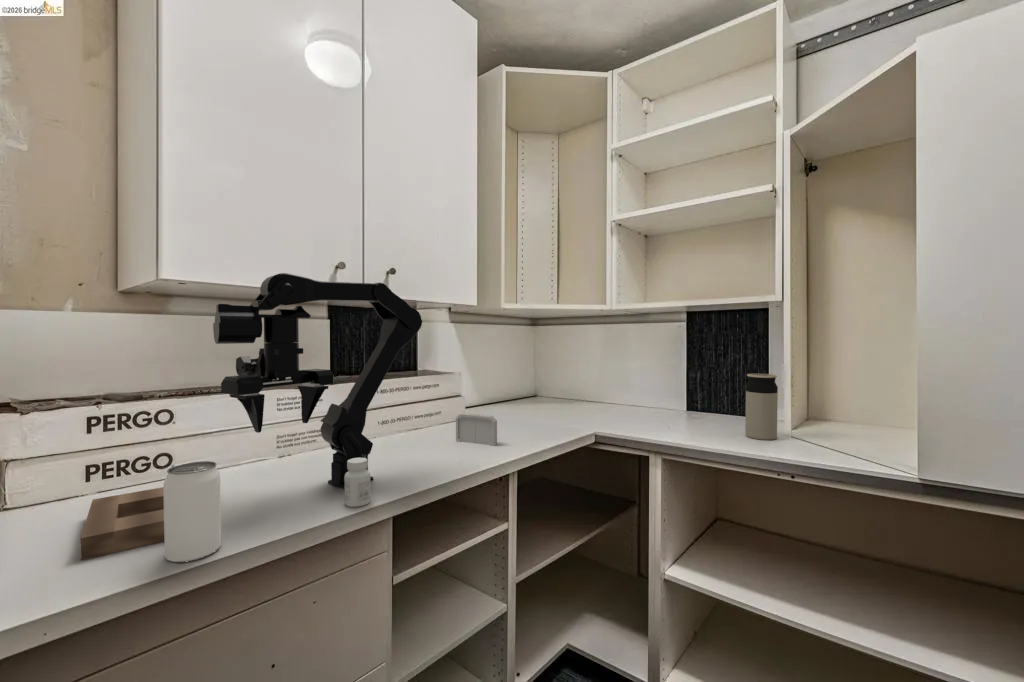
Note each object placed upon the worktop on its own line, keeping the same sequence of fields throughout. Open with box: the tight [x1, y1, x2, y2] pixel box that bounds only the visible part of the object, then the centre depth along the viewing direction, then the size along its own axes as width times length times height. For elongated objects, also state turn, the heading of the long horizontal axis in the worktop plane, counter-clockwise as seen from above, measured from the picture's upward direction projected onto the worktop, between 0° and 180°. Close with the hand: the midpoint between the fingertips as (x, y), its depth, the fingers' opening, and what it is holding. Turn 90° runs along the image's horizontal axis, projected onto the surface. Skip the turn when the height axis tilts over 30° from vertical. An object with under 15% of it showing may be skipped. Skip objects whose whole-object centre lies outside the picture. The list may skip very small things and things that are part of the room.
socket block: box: [80, 486, 165, 561], centre depth 72 cm, size 12×18×3 cm, turn 39°
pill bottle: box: [344, 458, 372, 508], centre depth 81 cm, size 4×4×8 cm
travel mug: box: [744, 373, 779, 441], centre depth 130 cm, size 8×8×18 cm
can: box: [163, 460, 222, 563], centre depth 63 cm, size 6×6×12 cm
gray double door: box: [455, 412, 498, 447], centre depth 124 cm, size 2×12×8 cm, turn 65°
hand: (282, 427), depth 84 cm, fingers open, 9 cm apart
